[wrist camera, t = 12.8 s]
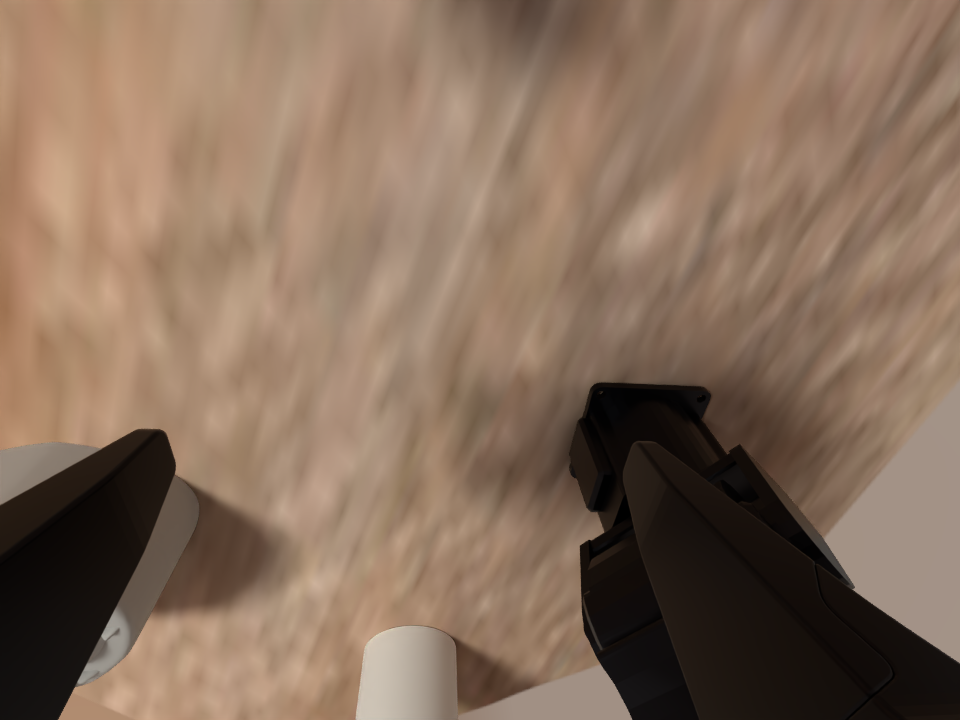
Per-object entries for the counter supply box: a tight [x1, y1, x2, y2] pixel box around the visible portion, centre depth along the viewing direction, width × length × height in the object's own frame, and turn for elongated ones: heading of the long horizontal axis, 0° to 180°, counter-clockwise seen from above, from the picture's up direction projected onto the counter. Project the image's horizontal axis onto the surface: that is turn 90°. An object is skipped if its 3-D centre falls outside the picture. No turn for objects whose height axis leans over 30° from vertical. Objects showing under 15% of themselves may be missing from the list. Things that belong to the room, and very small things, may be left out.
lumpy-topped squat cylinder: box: [0, 442, 199, 687], centre depth 24 cm, size 10×13×9 cm
